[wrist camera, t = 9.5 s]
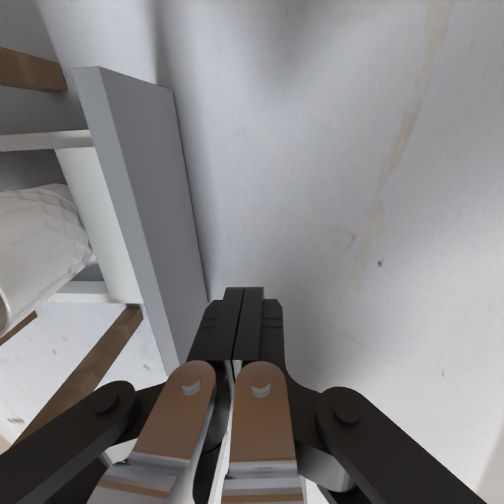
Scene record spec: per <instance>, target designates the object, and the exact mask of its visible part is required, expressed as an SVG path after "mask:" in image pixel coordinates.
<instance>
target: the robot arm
mask: <svg viewBox="0 0 504 504" xmlns="http://www.w3.org/2000/svg"><path fill="white" fill-rule="evenodd" d="M230 410H233V416H232V430H231V444H230V457H229V467H228V472H227V474H226V475H225V478H224V483H223V489H222V497H221V504H307V492H306V479H309V480H311V481H313V482H315V483H316V484H317V486H318V488H319V490H320V491H321V493H322V494H323V495H324V497H325V498H326V500H327V501H328V502H329V504H487V503H486V502H484V501H483V500H482V499H481V498H480V497H479V496H478V495H476V494H475V493H474V492H473V491H472V490H471V489H470V488H468V487H467V486H466V485H465V484H464V483H463V482H462V481H460V480H459V479H458V478H457V477H456V476H455V475H454V474H452V473H451V472H450V471H449V470H448V469H447V468H446V467H444V466H443V465H442V464H441V463H440V462H439V461H437V460H436V459H435V458H434V457H433V456H432V455H431V454H429V453H428V452H427V451H426V450H425V449H424V448H423V447H421V446H420V445H419V444H418V443H417V442H416V441H415V440H413V439H412V438H411V437H410V436H409V435H408V434H406V433H405V432H404V431H403V430H402V429H401V428H400V427H398V426H397V425H396V424H395V423H394V422H393V421H392V420H390V419H389V418H388V417H387V416H386V415H385V414H384V413H382V412H381V411H380V410H379V409H378V408H377V407H376V406H374V405H373V404H372V403H371V402H370V401H369V400H367V399H366V398H365V397H364V396H363V395H361V394H360V393H358V392H357V391H355V390H352V389H350V388H346V387H332V388H329V389H327V390H325V391H324V392H323V393H319V392H316V391H313V390H310V389H308V388H305V387H303V386H301V385H299V384H298V383H297V382H295V381H294V380H293V379H292V378H291V377H290V375H289V374H288V372H287V370H286V367H285V356H284V334H283V312H282V306H281V305H280V303H279V302H278V300H277V299H265V298H264V287H227V288H226V291H225V294H224V297H223V300H213V301H212V302H211V304H210V305H209V306H208V307H207V308H206V309H205V312H204V314H203V317H202V320H201V322H200V325H199V329H198V330H197V333H196V336H195V338H194V341H193V344H192V346H191V349H190V352H189V354H188V357H187V360H186V362H185V363H184V364H182V365H180V366H179V367H177V368H176V369H175V370H174V371H173V372H172V373H171V374H170V376H169V378H168V379H167V381H166V382H164V383H162V384H159V385H156V386H152V387H149V388H145V389H142V390H138V391H135V389H134V387H133V385H132V384H131V383H129V382H127V381H114V382H110V383H108V384H105V385H103V386H102V387H100V388H98V389H97V390H95V391H94V392H92V393H91V394H89V395H88V396H86V397H85V398H83V399H82V400H81V401H79V402H78V403H76V404H75V405H73V406H72V407H70V408H69V409H67V410H66V411H64V412H63V413H61V414H60V415H58V416H57V417H56V418H54V419H53V420H51V421H50V422H48V423H47V424H45V425H44V426H42V427H41V428H39V429H38V430H36V431H35V432H33V433H32V434H30V435H29V436H28V437H26V438H25V439H23V440H22V441H20V442H19V443H17V444H16V445H14V446H13V447H11V448H10V449H8V450H7V451H5V452H4V453H2V454H1V455H0V504H213V501H214V497H215V492H216V487H217V483H218V478H219V474H220V469H221V464H222V460H223V455H224V451H225V446H226V441H227V425H228V419H229V412H230ZM305 478H306V479H305Z"/></svg>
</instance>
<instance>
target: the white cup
mask: <svg viewBox="0 0 504 504" xmlns="http://www.w3.org/2000/svg"><path fill="white" fill-rule="evenodd" d="M94 258H95V254H94V252H93V249H92V247H91V244H90V241H89V237H88V235H87V232H86V230H85V228H84V226H83V223H82V221H81V218H80V215H79V213H78V210H77V208H76V205H75V202H74V200H73V197H72V195H71V192H70V190H69V187H68V185H63V184H58V183H53V184H48V185H44V186H39V187H34V188H29V189H18V190H10V191H4V192H0V338H1V337H3V336H4V335H5V334H6V333H8V332H9V331H10V330H11V329H12V328H14V327H15V326H16V325H17V324H18V323H20V322H21V321H22V320H23V319H24V318H25V317H27V316H28V315H29V314H30V313H31V312H33V311H34V310H35V309H36V308H38V307H39V306H40V305H41V304H42V303H44V302H45V301H46V300H47V299H48V298H50V297H51V296H52V295H53V294H54V293H56V292H57V291H58V290H59V289H61V288H62V287H63V286H64V285H65V284H66V283H68V282H69V281H70V280H71V279H72V278H73V277H74V276H75V275H76V274H77V273H79V272H80V271H81V270H82V269H83V268H85V267H86V266H87V264H88V263H89V262H90V261H91V260H92V259H94Z"/></svg>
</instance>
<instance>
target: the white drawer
mask: <svg viewBox="0 0 504 504" xmlns="http://www.w3.org/2000/svg"><path fill="white" fill-rule="evenodd" d="M70 71H71V74H72V77H73V80H74V83H75V87H76V90H77V93H78V96H79V99H80V102H81V106H82V109H83V112H84V115H85V118H86V121H87V125H88V128H89V130H74V131H58V132H43V133H27V134H11V135H0V152H3V151H21V150H39V149H54V151H55V153H56V156H57V158H58V161H59V164H60V166H61V169H62V171H63V174H64V177H65V179H66V182H67V184H68V187H69V190H70V192H71V195H72V197H73V200H74V202H75V205H76V208H77V210H78V213H79V215H80V218H81V221H82V223H83V226H84V228H85V230H86V232H87V235H88V237H89V241H90V244H91V247H92V249H93V252H94V254H95V257H96V260H97V262H98V265H99V267H100V270H101V273H102V275H103V278H104V280H105V281H69V282H68V283H66V284H65V285H64V286H63V287H62V288H61V289H59V290H58V291H57V292H56V293H54V294H53V295H52V296H51V297H50V298H48V299H47V300H46V301H45V302H87V303H141V304H144V305H145V308H146V312H147V315H148V318H149V321H150V324H151V327H152V331H153V334H154V337H155V340H156V343H157V346H158V350H159V353H160V356H161V359H162V362H163V365H164V369H165V372H166V375H167V376H170V374H171V373H172V372H173V371H174V370H175V369H176V368H177V367H179V366H180V365H182V364H184V363H185V362H186V360H187V357H188V354H189V352H190V349H191V346H192V344H193V341H194V338H195V336H196V333H197V330H198V329H199V325H200V322H201V320H202V317H203V314H204V312H205V309H206V308H207V307H208V300H207V294H206V288H205V282H204V276H203V270H202V264H201V258H200V252H199V246H198V240H197V234H196V228H195V222H194V216H193V210H192V204H191V198H190V193H189V187H188V181H187V175H186V169H185V163H184V157H183V151H182V145H181V139H180V133H179V127H178V121H177V115H176V109H175V103H174V97H173V91H172V90H170V89H167V88H164V87H161V86H158V85H155V84H152V83H148V82H145V81H142V80H139V79H136V78H133V77H130V76H127V75H124V74H121V73H118V72H115V71H112V70H108V69H105V68H102V67H99V66H96V67H85V68H74V69H70ZM58 148H60V149H58Z"/></svg>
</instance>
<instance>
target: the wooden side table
mask: <svg viewBox="0 0 504 504" xmlns="http://www.w3.org/2000/svg"><path fill="white" fill-rule="evenodd" d="M0 85H2V86H9V87H16V88H23V89H31V90H38V91H45V92H54V91H67V90H68V89H67V86H66V83H65V80H64V77H63V74H62V71H61V68H60V65H59V63H56V62H52V61H49V60H45V59H42V58H38V57H34V56H31V55H27V54H24V53H20V52H17V51H13V50H9V49H6V48H2V47H0ZM36 317H37V315H36V314H35V312H34V311H33V312H31V313H30V314H29V315H28V316H27V317H25V318H24V319H23V320H22V321H21V322H20V323H18V324H17V325H16V326H15V327H14V328H12V329H11V330H10V331H9V332H8V333H6V334H5V335H4V336H3V337H1V338H0V346H1V345H2V344H3V343H5V342H6V341H7V340H9V339H10V338H11V337H12V336H14V335H15V334H16V333H17V332H19V331H20V330H21V329H22V328H24V327H25V326H26V325H27V324H29V323H30V322H31V321H32V320H34V319H35V318H36ZM142 320H143V317H142V314H141V311H140V308H126V309H125V310H124V311H123V312H122V313H121V315H120V316H119V317H118V318H117V319H116V321H115V322H114V323H113V324H112V325H111V327H110V328H109V329H108V330H107V331H106V333H105V334H104V335H103V336H102V337H101V339H100V340H99V341H98V342H97V343H96V345H95V346H94V347H93V348H92V349H91V351H90V352H89V353H88V354H87V356H86V357H85V358H84V359H83V360H82V362H81V363H80V364H79V365H78V366H77V368H76V369H75V370H74V371H73V372H72V374H71V375H70V376H69V377H68V378H67V380H66V381H65V382H64V383H63V384H62V386H61V387H60V388H59V389H58V390H57V392H56V393H55V394H54V395H53V396H52V398H51V399H50V400H49V401H48V402H47V404H46V405H45V406H44V407H43V409H42V410H41V411H40V412H39V413H38V415H37V416H36V417H35V418H34V419H33V421H32V422H31V423H30V424H29V425H28V427H27V428H26V429H25V430H24V431H23V433H22V434H21V435H20V436H19V437H18V439H17V440H16V441H15V442H14V443H13V445H12V446H11V447H13V446H14V445H16V444H17V443H19V442H20V441H22V440H23V439H25V438H26V437H28V436H29V435H30V434H32V433H33V432H35V431H36V430H38V429H39V428H41V427H42V426H44V425H45V424H47V423H48V422H50V421H51V420H53V419H54V418H56V417H57V416H58V415H60V414H61V413H63V412H64V411H66V410H67V409H69V408H70V407H72V406H73V405H75V404H76V403H78V402H79V401H81V400H82V399H83V398H85V397H86V396H88V395H89V394H91V393H92V392H93V391H94V390H95V388H96V387H97V385H98V384H99V383H100V381H101V380H102V378H103V377H104V375H105V374H106V372H107V371H108V370H109V368H110V367H111V365H112V364H113V362H114V361H115V359H116V358H117V357H118V355H119V354H120V352H121V351H122V349H123V348H124V346H125V345H126V344H127V342H128V341H129V339H130V338H131V336H132V335H133V333H134V332H135V331H136V329H137V328H138V326H139V325H140V323H141V322H142ZM11 447H10V448H11ZM10 448H9V449H10Z"/></svg>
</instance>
